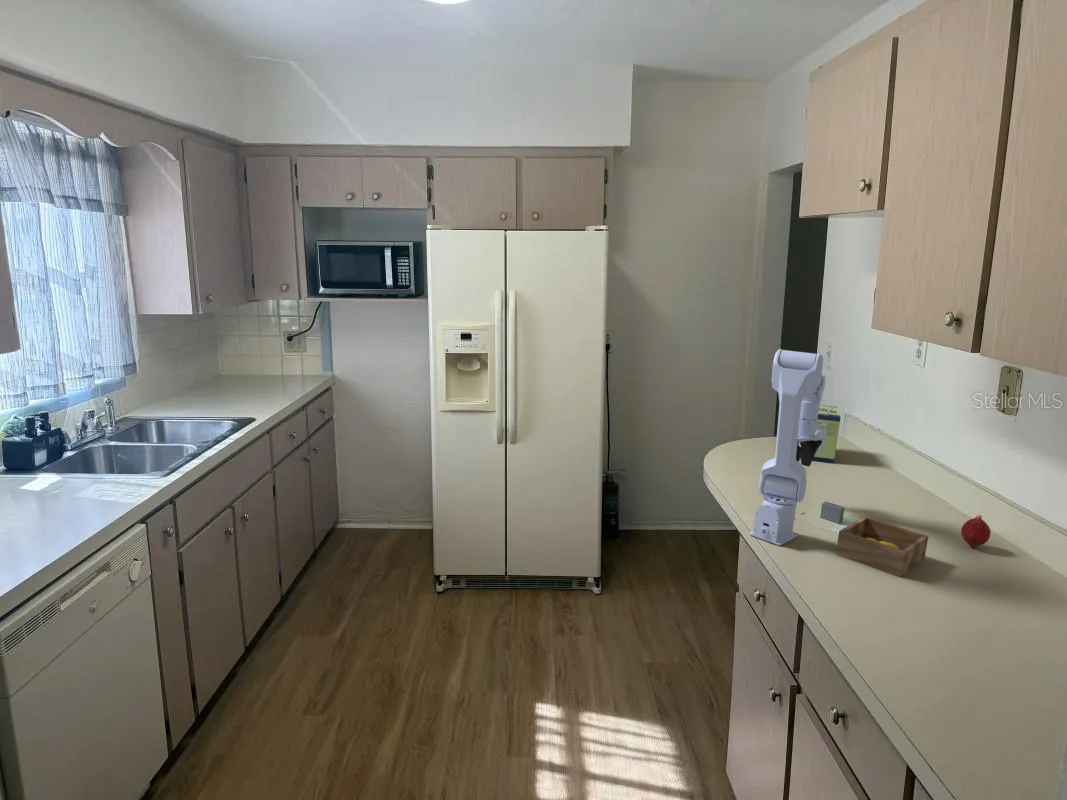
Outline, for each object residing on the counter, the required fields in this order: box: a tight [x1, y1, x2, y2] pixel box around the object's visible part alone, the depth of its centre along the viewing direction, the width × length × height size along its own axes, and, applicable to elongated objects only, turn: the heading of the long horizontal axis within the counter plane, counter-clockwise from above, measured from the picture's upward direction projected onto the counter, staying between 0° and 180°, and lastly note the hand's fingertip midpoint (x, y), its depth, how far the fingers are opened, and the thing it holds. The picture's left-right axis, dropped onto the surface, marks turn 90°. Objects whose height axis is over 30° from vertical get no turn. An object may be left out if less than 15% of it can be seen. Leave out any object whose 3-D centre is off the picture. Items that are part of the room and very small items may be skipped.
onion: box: [960, 514, 991, 548], centre depth 168 cm, size 6×6×8 cm
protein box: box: [798, 404, 841, 464], centre depth 236 cm, size 10×16×16 cm
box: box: [835, 516, 930, 578], centre depth 161 cm, size 14×14×6 cm
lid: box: [820, 501, 861, 534], centre depth 181 cm, size 14×14×5 cm
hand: (798, 468), depth 188 cm, fingers open, 7 cm apart
